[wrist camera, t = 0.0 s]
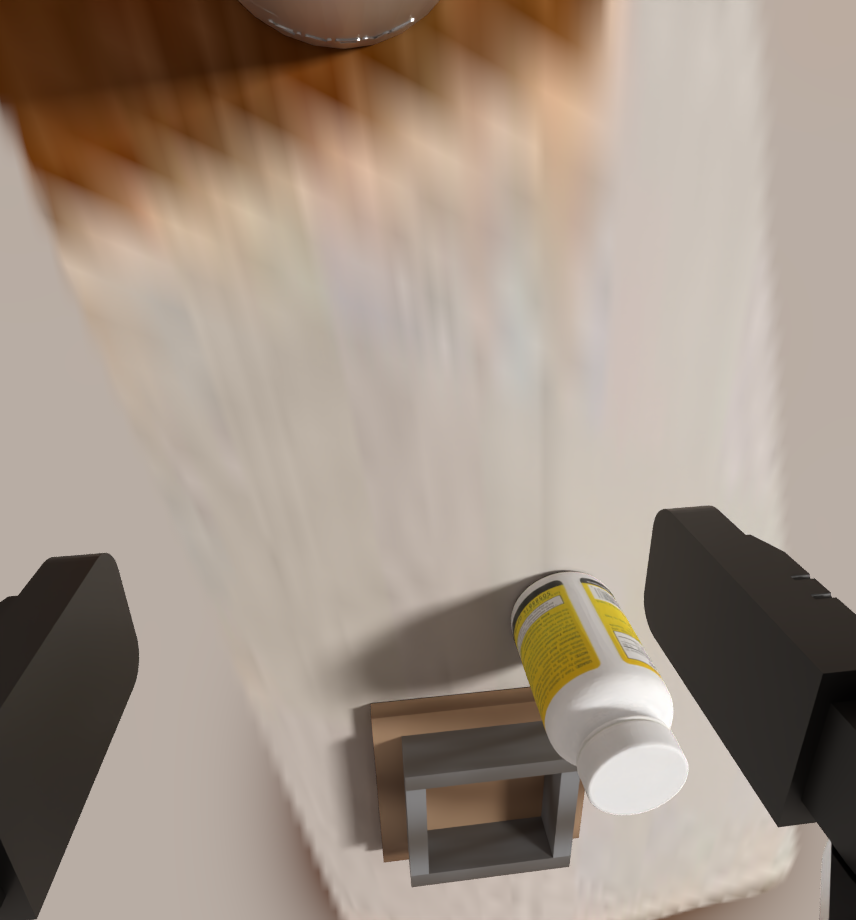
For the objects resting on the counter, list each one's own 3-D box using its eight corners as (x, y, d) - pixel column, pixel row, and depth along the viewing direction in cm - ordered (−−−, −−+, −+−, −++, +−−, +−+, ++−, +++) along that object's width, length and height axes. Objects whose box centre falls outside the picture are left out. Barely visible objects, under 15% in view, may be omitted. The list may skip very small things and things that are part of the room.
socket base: (370, 703, 34) (372, 760, 31) (590, 680, 35) (614, 733, 32) (382, 846, 39) (386, 906, 36) (573, 822, 41) (592, 879, 37)
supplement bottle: (504, 655, 34) (559, 834, 25) (513, 570, 31) (577, 735, 23) (603, 649, 34) (691, 822, 26) (620, 565, 32) (722, 724, 23)
